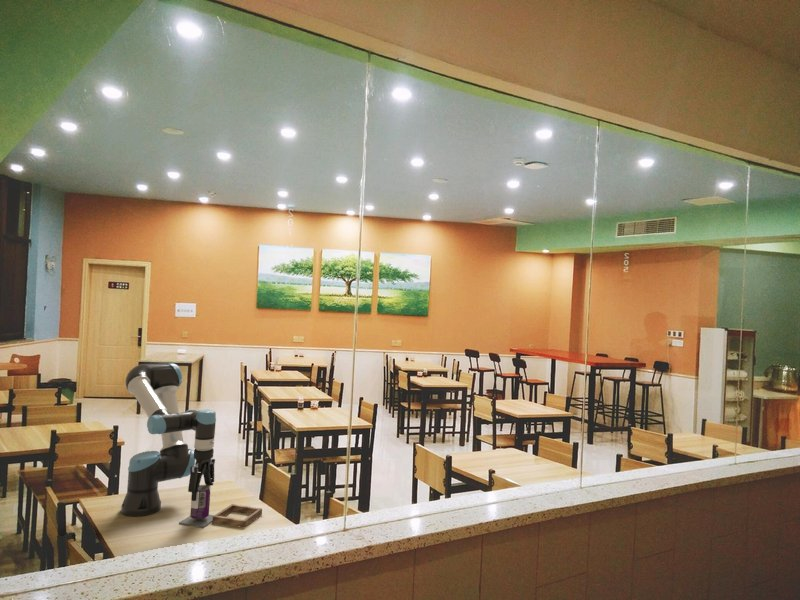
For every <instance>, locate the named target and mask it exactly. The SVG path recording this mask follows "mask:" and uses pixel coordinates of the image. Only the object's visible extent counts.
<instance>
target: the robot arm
mask: <svg viewBox="0 0 800 600" xmlns="http://www.w3.org/2000/svg"><path fill="white" fill-rule="evenodd" d="M182 382H183V373H182V371H181V368H180V366H179V365H178V364H176V363H172V362H171V363H170V362H169V363H168V362H163V363H141V364H138V365H136V366H134V367H133V368H132V369H130V370H129V372H128V373H127V375H126V377H125V382H124V383H125V388H126V389H127V391H128V393H130V394H131V395H133V396H134V397H135V399H136V401H137V402H138V404H139V406H141V407H140V408H141V409H142V410H143V412H144V413H145V414H146V415H145V416H146V417H148V419H147V421H146V422H147V423H146V428H147V431H148V433H149V434H150V435H161V441H162V448H160V450H159V451H157V450H151V451H150V450H146V451H142V452H139V453H136V454H134V455H133V456H131V458H130V459H129V465H128V468H127V471H128V474H127V475H128V476H127V486H126V487H127V488H126V489H127V490H126V494H125V497H124V499H123V502H122V504H121V506H120V507H121V508H120V512H121V514H122V515H125V516H129V517H140V516H141V517H142V516H143V517H144V516H146V515H147V516H148V515H151V514H154V513H156V512H158V511H160V510H161V508H162V501H161V499H160V494H159V490H158V487H159V483H160V482H166V481H171V480H176V479H182V478H185V477H189V482H188V488H187V492H188V493H191V498H190V501H191V500H192V501H191V502H190V509H191V508H195V509H198V502H199V492H198V489H199V485H201V481H202V477H203V479H204V485H207V486H209V489H210V490H211V486H213V485H214V482H215V463H216V459H215V458H214V447H215V435H216V422H217V417H216V415H217V413H216V411H215V410H214V409H210V408H209V409H208V408H207V409H200V410H195V409H187V410H186V411H183V412H180V411H179V406H178V398H177V394H176V393H177V392H178V390H179V387H180V386H181V385H182ZM183 431H184V432H185V431H195V434H194V446H193V447H194V449H192V448H189V445H188V443H186V442H185V441H184V437H183Z"/></svg>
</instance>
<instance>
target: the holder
mask: <svg viewBox="0 0 800 600" xmlns="http://www.w3.org/2000/svg"><path fill="white" fill-rule="evenodd" d="M232 512H237V513H241V512H243V513H242V514H247V513H248V514H249V515H248V516H247V517H246V518H244V519H240V518H234V517H228V516H229V514H231V513H232ZM262 514H263V508H261V507H256V506H255V507H254V506H247V505H241V504H240V505H239V504H236V503H235V504H234V503H231V504H229V505H228V506H227V507H225V508H223V509H222V510H220V511H218V512H217V513H215V514H213V515H214V516H213V521H212V523H211V524H220V525H224V526H225V525H226V526H231V525H232V527H237V526H240V527H239V528H243V527H245V528H246V527H247V526H249V525H250V524H252V521H253V522H254V521H255V520H257V519H258V518H260V517H261V516H263V515H262ZM256 518H257V519H256ZM248 524H249V525H248Z"/></svg>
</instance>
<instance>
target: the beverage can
mask: <svg viewBox="0 0 800 600" xmlns="http://www.w3.org/2000/svg"><path fill="white" fill-rule="evenodd" d="M198 492H199V502H198V509H195V508H191V507H190V514H189V516H190V517H191V518H194V519H204V518H206V517H207V516H208V515H210V504H211V503H210V502H211V488H210V489H209V486H207V485H205V484H200V485H199V489H198ZM190 501H192V500H191V499H190Z"/></svg>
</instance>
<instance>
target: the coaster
mask: <svg viewBox="0 0 800 600" xmlns="http://www.w3.org/2000/svg"><path fill="white" fill-rule="evenodd" d="M214 515H215V514H209V515H208V516H207V517H206V518H204V519H194V518H191V517H190V515H189V516H187V517H186V518H184V519H182V520H181V521H179V522H178V524H179V525H183V526H187V527H196V528H199V529H200V528H201V529H204V528H206V527H207V526H209V525H210V524H213V523H212V521H213V516H214Z"/></svg>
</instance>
